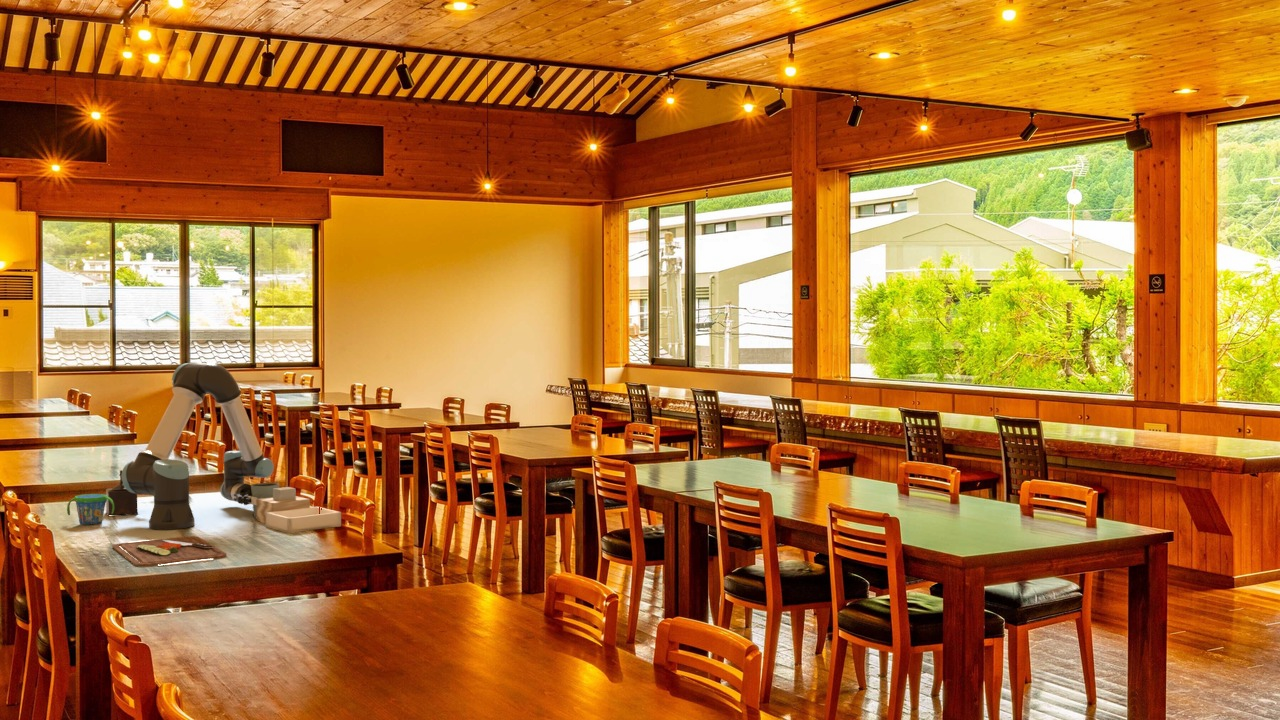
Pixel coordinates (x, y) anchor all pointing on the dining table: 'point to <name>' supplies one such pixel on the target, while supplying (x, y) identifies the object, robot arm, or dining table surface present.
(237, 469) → the robot arm
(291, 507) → the block
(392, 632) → the dining table surface
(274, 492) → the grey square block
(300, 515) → the box
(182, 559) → the chopping board
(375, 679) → the dining table surface
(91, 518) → the snack cup
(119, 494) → the manual coffee grinder
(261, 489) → the grey green tapered cup
